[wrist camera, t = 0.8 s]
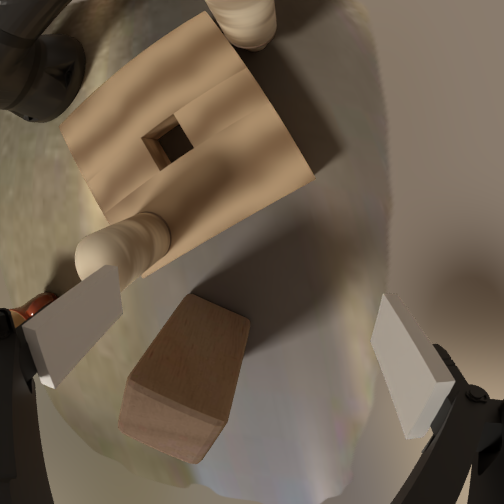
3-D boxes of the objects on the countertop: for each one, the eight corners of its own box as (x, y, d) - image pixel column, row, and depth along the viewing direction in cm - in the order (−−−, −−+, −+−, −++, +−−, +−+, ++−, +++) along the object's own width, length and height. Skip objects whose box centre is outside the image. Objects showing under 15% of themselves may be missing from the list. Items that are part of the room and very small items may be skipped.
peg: (221, 35, 32) (185, -23, 18) (262, 14, 31) (247, -53, 16) (245, 69, 34) (219, 18, 19) (287, 47, 32) (286, -14, 17)
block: (188, 288, 43) (124, 377, 24) (253, 317, 43) (229, 423, 24) (169, 340, 46) (113, 432, 27) (228, 367, 46) (197, 469, 27)
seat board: (79, 127, 38) (0, 125, 23) (214, 26, 32) (174, -36, 17) (157, 265, 42) (98, 318, 27) (312, 176, 37) (329, 187, 21)
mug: (63, 337, 49) (32, 365, 40) (34, 304, 48) (0, 328, 39) (85, 300, 46) (49, 329, 36) (52, 264, 45) (13, 286, 35)
